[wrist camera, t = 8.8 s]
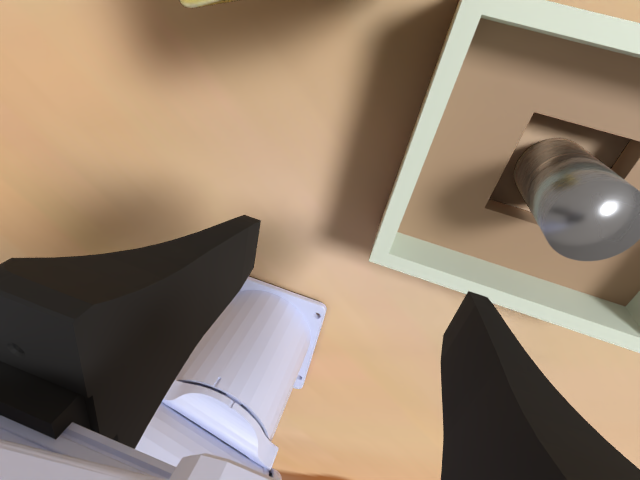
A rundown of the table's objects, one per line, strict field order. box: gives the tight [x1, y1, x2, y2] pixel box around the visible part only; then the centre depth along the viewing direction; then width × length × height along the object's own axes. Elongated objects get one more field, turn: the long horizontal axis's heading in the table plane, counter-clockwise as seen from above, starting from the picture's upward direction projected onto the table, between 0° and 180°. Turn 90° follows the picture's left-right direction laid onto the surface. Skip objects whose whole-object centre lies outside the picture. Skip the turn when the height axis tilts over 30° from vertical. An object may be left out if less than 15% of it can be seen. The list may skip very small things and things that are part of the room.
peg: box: [514, 138, 640, 261], centre depth 16 cm, size 3×3×6 cm
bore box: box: [369, 0, 640, 353], centre depth 17 cm, size 12×14×4 cm
